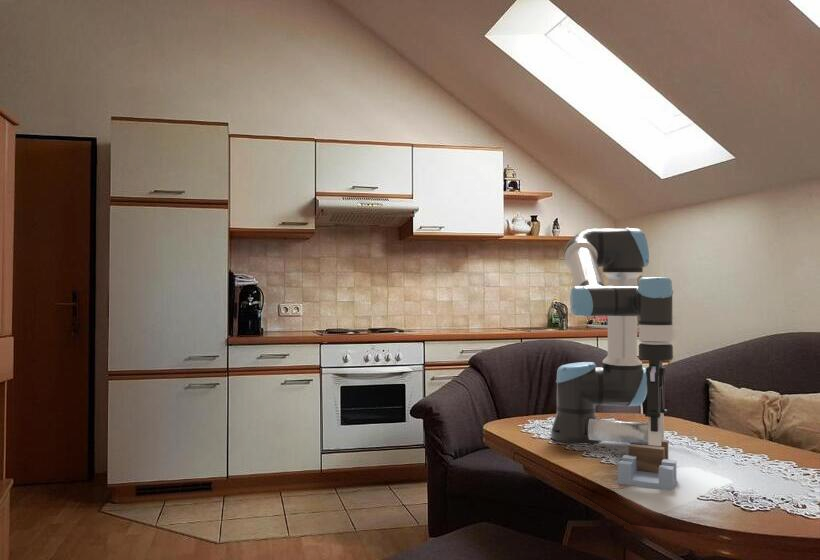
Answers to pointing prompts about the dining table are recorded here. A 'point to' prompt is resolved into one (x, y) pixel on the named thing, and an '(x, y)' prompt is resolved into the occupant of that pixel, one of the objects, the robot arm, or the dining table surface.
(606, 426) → the white long block
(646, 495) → the dining table surface
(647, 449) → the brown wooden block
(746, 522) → the dining table surface
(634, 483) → the cradle
